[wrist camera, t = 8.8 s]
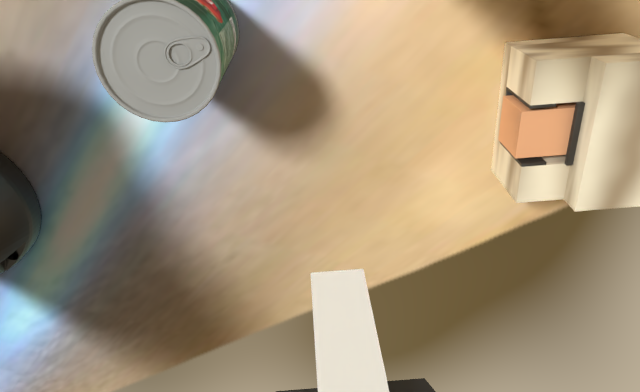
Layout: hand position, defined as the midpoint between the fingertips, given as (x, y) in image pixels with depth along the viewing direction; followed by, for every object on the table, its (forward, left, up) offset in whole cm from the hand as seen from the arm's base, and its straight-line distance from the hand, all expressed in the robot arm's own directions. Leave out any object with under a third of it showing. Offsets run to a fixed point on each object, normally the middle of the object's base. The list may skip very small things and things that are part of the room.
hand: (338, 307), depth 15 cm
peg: (+21, -6, -29) cm, 36 cm away
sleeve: (+21, -6, -31) cm, 38 cm away
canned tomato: (-10, +3, -31) cm, 33 cm away
